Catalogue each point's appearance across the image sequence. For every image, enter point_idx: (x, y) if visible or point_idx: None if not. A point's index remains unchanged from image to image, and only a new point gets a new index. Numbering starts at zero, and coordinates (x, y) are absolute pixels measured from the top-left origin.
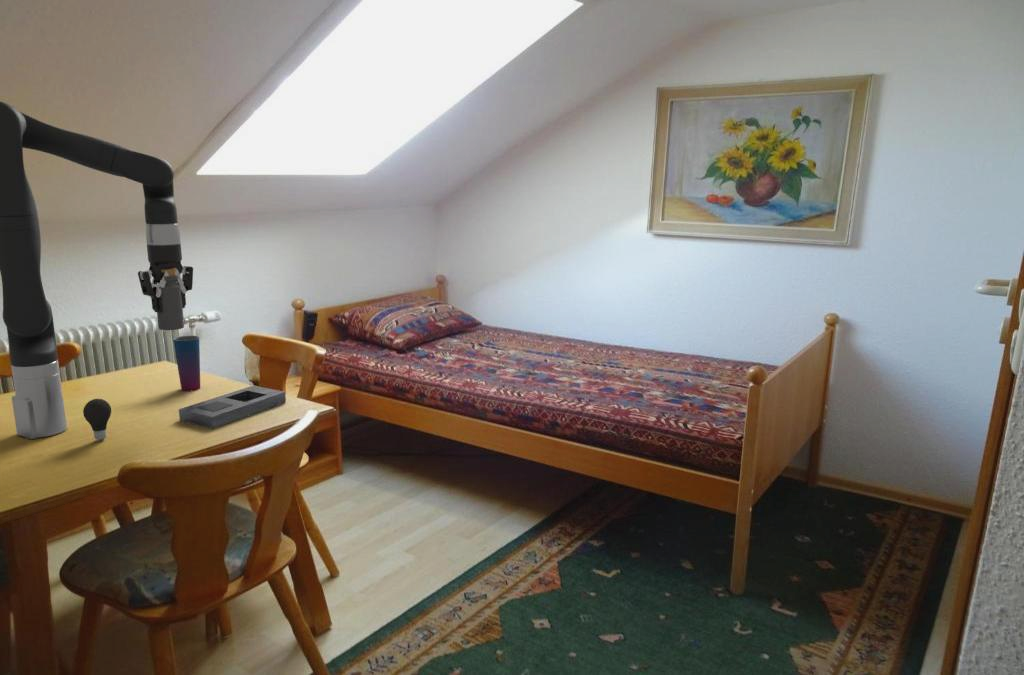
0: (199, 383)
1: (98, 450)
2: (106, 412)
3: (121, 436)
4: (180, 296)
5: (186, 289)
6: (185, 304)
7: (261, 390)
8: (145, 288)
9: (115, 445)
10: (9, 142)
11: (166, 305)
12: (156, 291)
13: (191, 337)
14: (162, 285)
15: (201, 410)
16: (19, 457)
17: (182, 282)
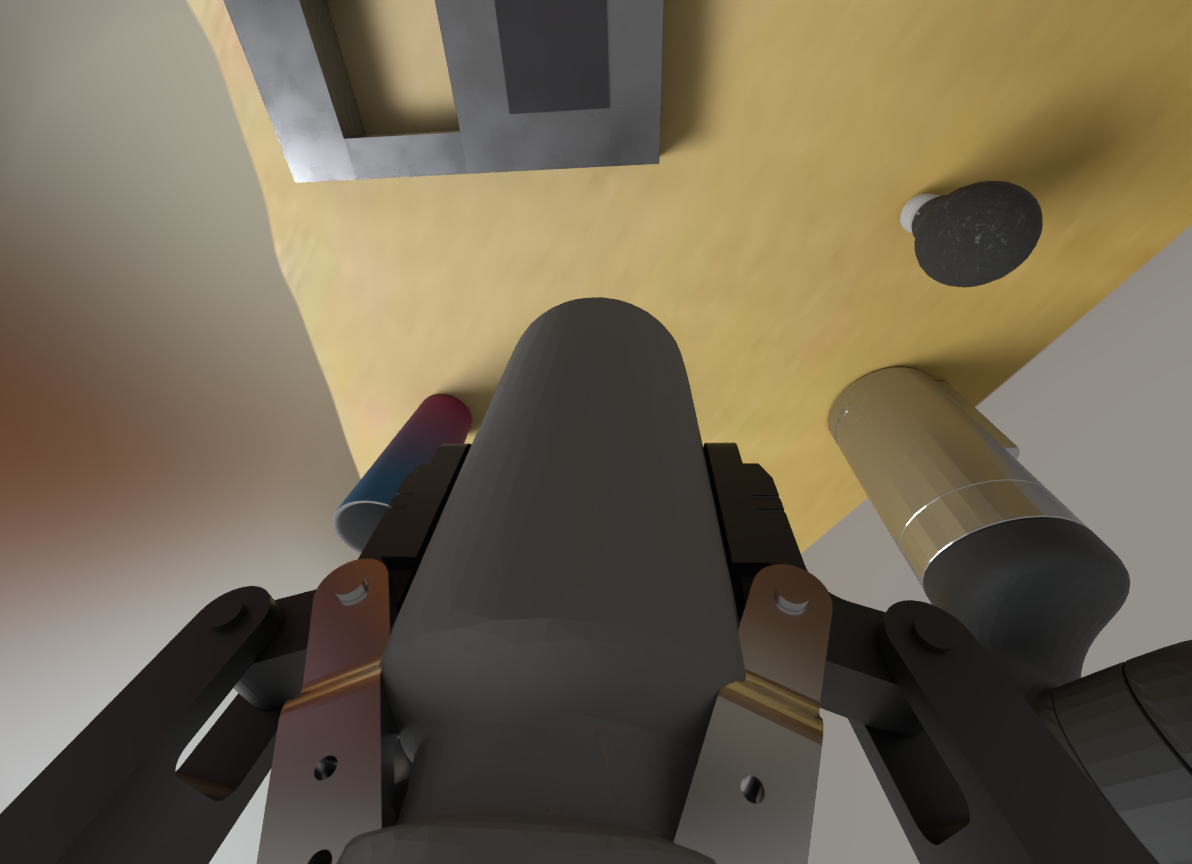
0: (421, 405)
1: (1012, 113)
2: (990, 182)
3: (861, 186)
4: (478, 492)
5: (298, 614)
6: (414, 473)
7: (290, 74)
8: (924, 771)
9: (951, 108)
10: None
11: (687, 452)
12: (823, 658)
13: (354, 540)
14: (763, 742)
15: (623, 49)
16: (1093, 281)
17: (300, 726)
